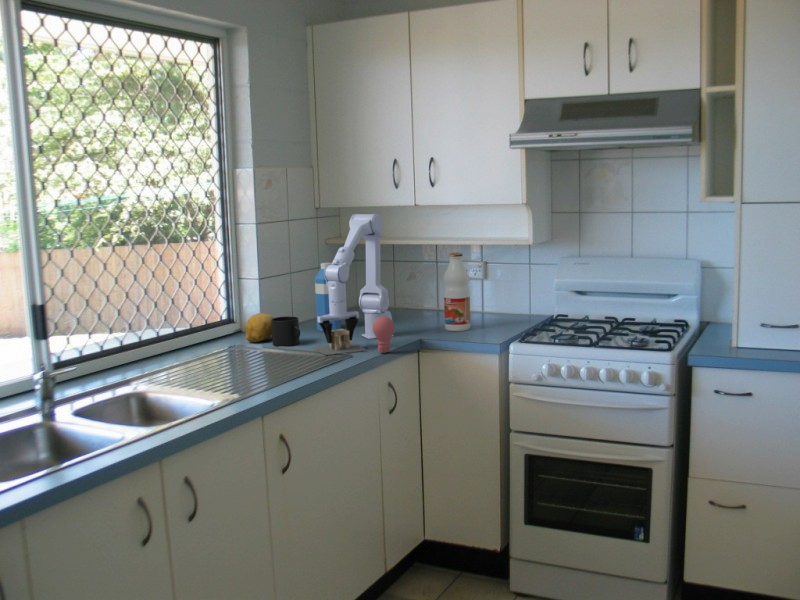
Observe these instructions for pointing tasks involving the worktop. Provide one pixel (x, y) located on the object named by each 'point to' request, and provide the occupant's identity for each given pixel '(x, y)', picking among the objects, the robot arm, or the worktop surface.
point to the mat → (329, 351)
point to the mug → (285, 331)
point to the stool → (343, 342)
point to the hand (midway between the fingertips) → (339, 341)
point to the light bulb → (383, 332)
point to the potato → (258, 327)
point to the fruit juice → (456, 295)
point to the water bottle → (323, 298)
